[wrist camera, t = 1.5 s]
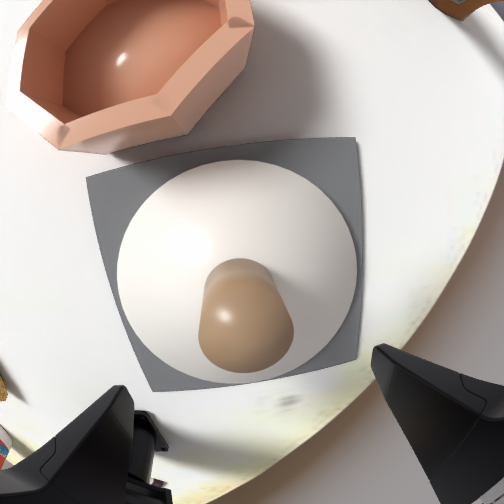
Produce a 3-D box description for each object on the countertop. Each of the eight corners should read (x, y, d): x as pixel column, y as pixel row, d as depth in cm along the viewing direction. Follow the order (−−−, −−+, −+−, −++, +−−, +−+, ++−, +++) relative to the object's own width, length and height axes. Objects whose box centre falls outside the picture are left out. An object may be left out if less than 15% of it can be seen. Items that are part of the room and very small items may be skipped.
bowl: (252, 126, 14) (267, 102, 9) (62, 170, 13) (7, 174, 8) (229, -23, 10) (233, -73, 5) (65, 22, 10) (30, -8, 4)
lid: (347, 354, 19) (378, 402, 13) (158, 384, 18) (147, 439, 13) (344, 150, 14) (398, 144, 9) (98, 187, 13) (45, 197, 8)
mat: (353, 356, 19) (356, 359, 19) (153, 387, 18) (152, 391, 18) (351, 138, 15) (355, 137, 14) (89, 177, 14) (85, 177, 13)
